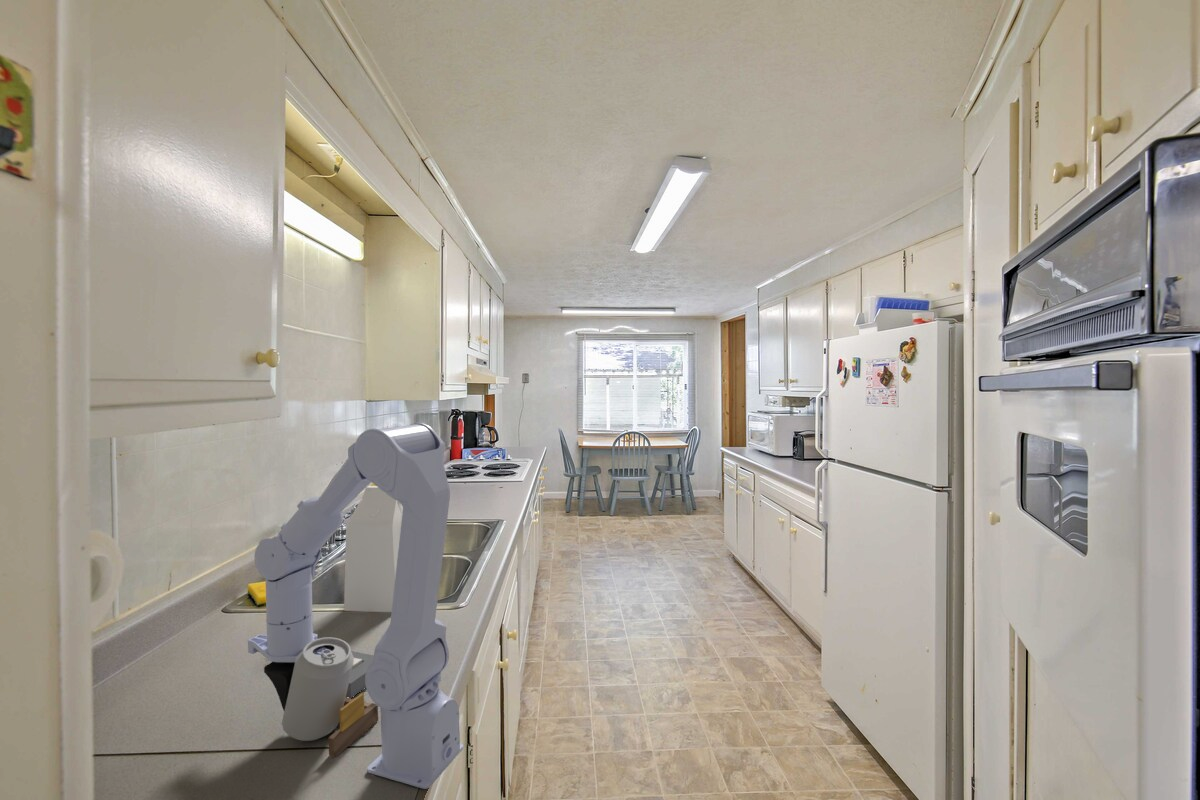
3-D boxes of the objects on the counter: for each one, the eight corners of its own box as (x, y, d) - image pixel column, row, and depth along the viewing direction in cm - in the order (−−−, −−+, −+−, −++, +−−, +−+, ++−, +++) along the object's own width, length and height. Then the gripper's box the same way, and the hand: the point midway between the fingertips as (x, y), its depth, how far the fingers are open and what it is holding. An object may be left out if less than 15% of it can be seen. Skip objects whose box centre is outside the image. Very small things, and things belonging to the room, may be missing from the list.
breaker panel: (387, 672, 92) (386, 654, 92) (351, 699, 85) (350, 679, 84) (341, 662, 96) (340, 645, 95) (303, 687, 88) (302, 668, 88)
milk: (419, 591, 127) (416, 481, 126) (396, 612, 116) (393, 492, 115) (371, 589, 128) (367, 481, 127) (343, 610, 117) (339, 492, 116)
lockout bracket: (378, 720, 79) (377, 684, 79) (334, 757, 72) (333, 717, 71) (325, 707, 82) (324, 672, 82) (278, 741, 75) (277, 702, 75)
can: (326, 698, 82) (342, 627, 80) (348, 731, 77) (365, 657, 76) (272, 717, 76) (288, 641, 75) (292, 754, 72) (310, 675, 70)
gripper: (351, 612, 79) (352, 702, 79) (277, 597, 83) (279, 682, 84) (310, 634, 72) (312, 732, 73) (233, 616, 77) (235, 709, 78)
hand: (291, 707), depth 78 cm, fingers closed, pressing on can
